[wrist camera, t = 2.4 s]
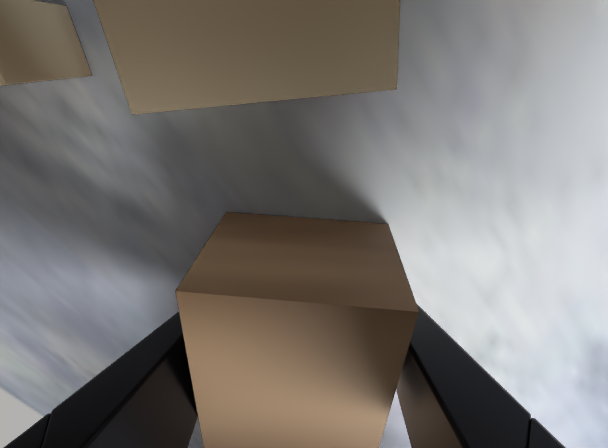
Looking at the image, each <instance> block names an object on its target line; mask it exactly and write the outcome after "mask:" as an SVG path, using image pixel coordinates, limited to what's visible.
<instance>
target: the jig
mask: <svg viewBox="0 0 608 448" xmlns="http://www.w3.org/2000/svg"><path fill="white" fill-rule="evenodd" d="M93 1H94V4H95V7H96V10H97V13H98V16H99V19H100V22H101V25H102V28H103V31H104V34H105V37H106V40H107V43H108V46H109V49H110V52H111V55H112V58H113V61H114V64H115V67H116V70H117V73H118V76H119V79H120V82H121V85H122V88H123V91H124V94H125V96H126V99H127V102H128V105H129V108H130V111H131V114H132V115H133V114H144V113H154V112H165V111H175V110H186V109H196V108H207V107H217V106H227V105H238V104H248V103H259V102H269V101H280V100H290V99H301V98H311V97H322V96H332V95H343V94H353V93H364V92H374V91H385V90H395V89H397V74H398V47H399V19H400V0H93ZM85 76H92V74H91V71H90V68H89V65H88V63H87V60H86V57H85V55H84V52H83V49H82V47H81V44H80V41H79V38H78V36H77V33H76V30H75V28H74V25H73V22H72V20H71V17H70V14H69V11H68V9H67V6H64V5H58V4H52V3H47V2H41V1H35V0H0V86H3V85H12V84H21V83H30V82H39V81H48V80H57V79H66V78H75V77H85Z"/></svg>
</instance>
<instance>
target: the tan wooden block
mask: <svg viewBox="0 0 608 448" xmlns="http://www.w3.org/2000/svg"><path fill="white" fill-rule="evenodd" d="M175 292H176V298H177V303H178V309H179V314H180V319H181V325H182V330H183V336H184V341H185V347H186V352H187V358H188V363H189V369H190V374H191V380H192V385H193V391H194V396H195V402H196V407H197V413H198V418H199V424H200V429H201V435H202V440H203V445H204V448H379V445H380V442H381V438H382V435H383V432H384V428H385V425H386V421H387V418H388V415H389V411H390V408H391V405H392V401H393V398H394V394H395V391H396V388H397V384H398V381H399V378H400V374H401V371H402V367H403V364H404V361H405V357H406V354H407V351H408V347H409V344H410V340H411V337H412V334H413V330H414V327H415V324H416V320H417V317H418V313H419V310H418V308H417V305H416V302H415V299H414V296H413V293H412V290H411V288H410V285H409V282H408V279H407V276H406V273H405V270H404V268H403V265H402V262H401V259H400V256H399V253H398V250H397V248H396V245H395V242H394V239H393V236H392V233H391V230H390V228H389V225H388V224H382V223H369V222H356V221H342V220H329V219H316V218H302V217H289V216H276V215H262V214H249V213H236V212H226V213H225V214H224V216H223V218H222V219H221V221H220V222H219V224H218V225H217V227H216V229H215V230H214V232H213V233H212V235H211V236H210V238H209V239H208V241H207V243H206V244H205V246H204V247H203V249H202V250H201V252H200V254H199V255H198V257H197V258H196V260H195V261H194V263H193V264H192V266H191V268H190V269H189V271H188V272H187V274H186V275H185V277H184V278H183V280H182V282H181V283H180V285H179V286H178V288H177V289H176V291H175Z"/></svg>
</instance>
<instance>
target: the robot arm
mask: <svg viewBox="0 0 608 448" xmlns="http://www.w3.org/2000/svg"><path fill="white" fill-rule="evenodd" d="M416 305H417V304H416ZM417 308H418V310H419V313H418V317H417V320H416V324H415V327H414V330H413V334H412V337H411V340H410V344H409V347H408V351H407V354H406V357H405V361H404V364H403V367H402V371H401V374H400V378H399V381H398V384H397V388H396V389H397V394H398V398H399V402H400V406H401V410H402V413H403V417H404V421H405V424H406V428H407V432H408V436H409V439H410V443H411V447H412V448H565V447H564V446H563V445H562V444H561V443H560V442H559V441H558V440H557V439H556V438H555V437H554V436H553V435H552V434H551V433H550V432H549V431H548V430H547V429H545V428H544V427H543V426H542V425H541V424H540V423H539V422H538V421H537V420H536V419H535V418H531V415H530V413H529V412H528V411H527V410H526V409H525V408H524V407H523V406H522V405H520V404H519V403H518V402H517V401H516V400H515V399H514V398H513V397H512V396H511V395H510V394H509V393H508V392H507V391H506V390H505V389H504V388H503V387H502V386H501V385H500V384H499V383H498V382H497V381H496V380H495V379H494V378H493V377H492V376H491V375H490V374H488V373H487V372H486V371H485V370H484V369H483V368H482V367H481V366H480V365H479V364H478V363H477V362H476V361H475V360H474V359H473V358H472V357H471V356H470V355H469V354H468V353H467V352H466V351H465V350H464V349H463V348H462V347H461V346H460V345H459V344H458V343H457V342H455V341H454V340H453V339H452V338H451V337H450V336H449V335H448V334H447V333H446V332H445V331H444V330H443V329H442V328H441V327H440V326H439V325H438V324H437V323H436V322H435V321H434V320H433V319H432V318H431V317H430V316H429V315H428V314H427V313H426V312H425V311H424V310H422V309H421V308H420V307H419V306H418V305H417ZM197 417H198V413H197V407H196V402H195V396H194V391H193V385H192V380H191V374H190V369H189V363H188V358H187V352H186V347H185V341H184V336H183V330H182V325H181V319H180V314H179V312H177V313H176V314H175V315H174V316H172V317H171V318H170V319H169V320H167V321H166V322H165V323H163V324H162V325H161V326H160V327H158V328H157V329H156V330H154V331H153V332H152V333H151V334H149V335H148V336H147V337H145V338H144V339H143V340H142V341H140V342H139V343H138V344H137V345H135V346H134V347H133V348H131V349H130V350H129V351H128V352H126V353H125V354H124V355H122V356H121V357H120V358H119V359H117V360H116V361H115V362H113V363H112V364H111V365H110V366H108V367H107V368H106V369H105V370H103V371H102V372H101V373H99V374H98V375H97V376H96V377H94V378H93V379H92V380H90V381H89V382H88V383H87V384H85V385H84V386H83V387H81V388H80V389H79V390H78V391H76V392H75V393H74V394H72V395H71V396H70V397H69V398H67V399H66V400H65V401H64V402H62V403H61V404H60V405H58V406H57V407H56V408H55V409H53V410H52V412H51V414H47V415H45V416H44V417H43V418H42V419H40V420H39V421H38V422H37V423H35V424H34V425H33V426H32V427H30V428H29V429H28V430H26V431H25V432H24V433H22V434H21V435H20V436H18V437H17V438H16V439H14V440H13V441H12V442H10V443H9V444H8V445H7V446H5V447H4V448H187V447H188V444H189V441H190V438H191V435H192V432H193V429H194V426H195V423H196V420H197Z"/></svg>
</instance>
